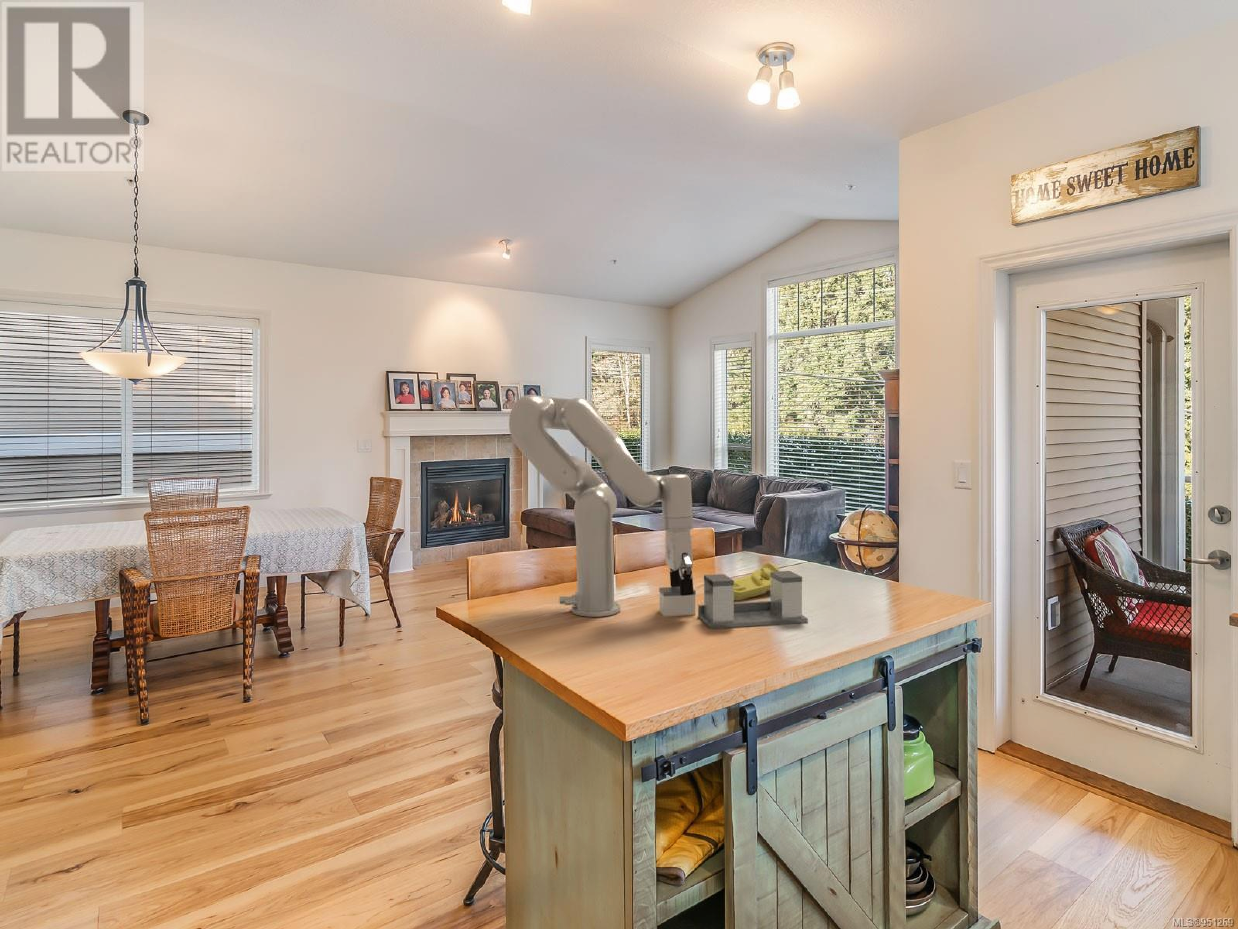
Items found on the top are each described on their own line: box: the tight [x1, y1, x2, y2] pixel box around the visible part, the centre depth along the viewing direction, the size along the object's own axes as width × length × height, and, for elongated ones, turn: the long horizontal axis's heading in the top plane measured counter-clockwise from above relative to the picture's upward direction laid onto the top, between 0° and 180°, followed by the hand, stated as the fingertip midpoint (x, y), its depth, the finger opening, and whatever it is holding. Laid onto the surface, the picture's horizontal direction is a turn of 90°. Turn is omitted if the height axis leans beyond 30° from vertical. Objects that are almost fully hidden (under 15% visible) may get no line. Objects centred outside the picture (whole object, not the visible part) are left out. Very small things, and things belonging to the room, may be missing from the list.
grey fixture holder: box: [697, 570, 809, 630], centre depth 160 cm, size 24×10×11 cm, turn 99°
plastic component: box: [733, 562, 781, 601], centre depth 186 cm, size 20×7×10 cm
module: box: [658, 586, 696, 617], centre depth 167 cm, size 8×5×6 cm, turn 99°
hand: (681, 590), depth 167 cm, fingers open, 9 cm apart
